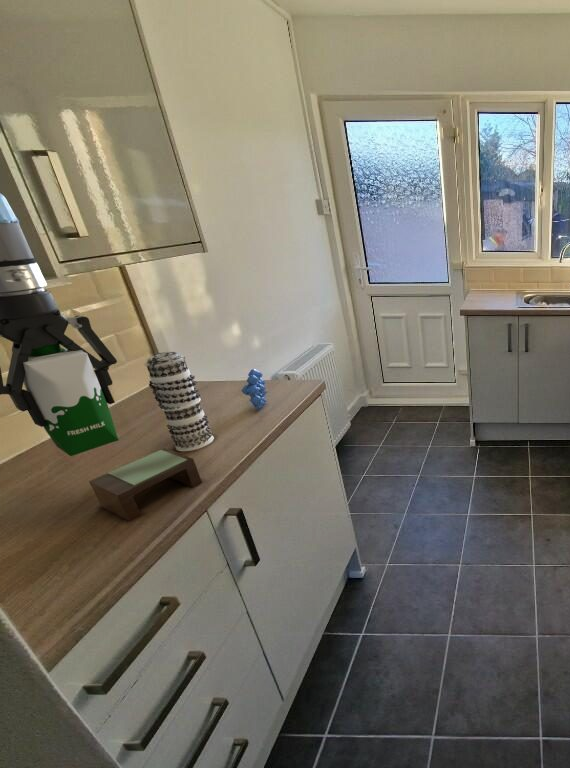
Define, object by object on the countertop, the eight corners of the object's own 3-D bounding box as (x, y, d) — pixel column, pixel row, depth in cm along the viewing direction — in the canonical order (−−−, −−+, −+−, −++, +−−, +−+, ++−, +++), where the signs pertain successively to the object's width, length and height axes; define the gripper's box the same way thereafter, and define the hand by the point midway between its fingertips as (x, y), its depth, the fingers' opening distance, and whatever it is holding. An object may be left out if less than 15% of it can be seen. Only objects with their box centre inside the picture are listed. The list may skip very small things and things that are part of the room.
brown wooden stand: (101, 506, 88) (88, 480, 85) (173, 471, 99) (164, 447, 97) (129, 521, 83) (116, 494, 81) (202, 482, 95) (192, 457, 92)
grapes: (250, 400, 135) (240, 366, 131) (273, 397, 137) (264, 363, 133) (242, 416, 125) (230, 379, 120) (267, 412, 127) (257, 376, 122)
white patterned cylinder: (172, 456, 105) (135, 364, 95) (175, 440, 112) (141, 353, 102) (215, 445, 110) (184, 356, 100) (215, 431, 117) (186, 346, 107)
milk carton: (107, 429, 85) (70, 334, 78) (127, 439, 81) (89, 341, 74) (48, 447, 78) (0, 346, 71) (65, 460, 74) (17, 354, 67)
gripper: (-83, 308, 58) (0, 445, 67) (109, 282, 76) (154, 393, 85) (-99, 304, 61) (-18, 436, 70) (89, 280, 79) (135, 387, 88)
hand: (76, 412), depth 77 cm, fingers closed on milk carton, 9 cm apart
